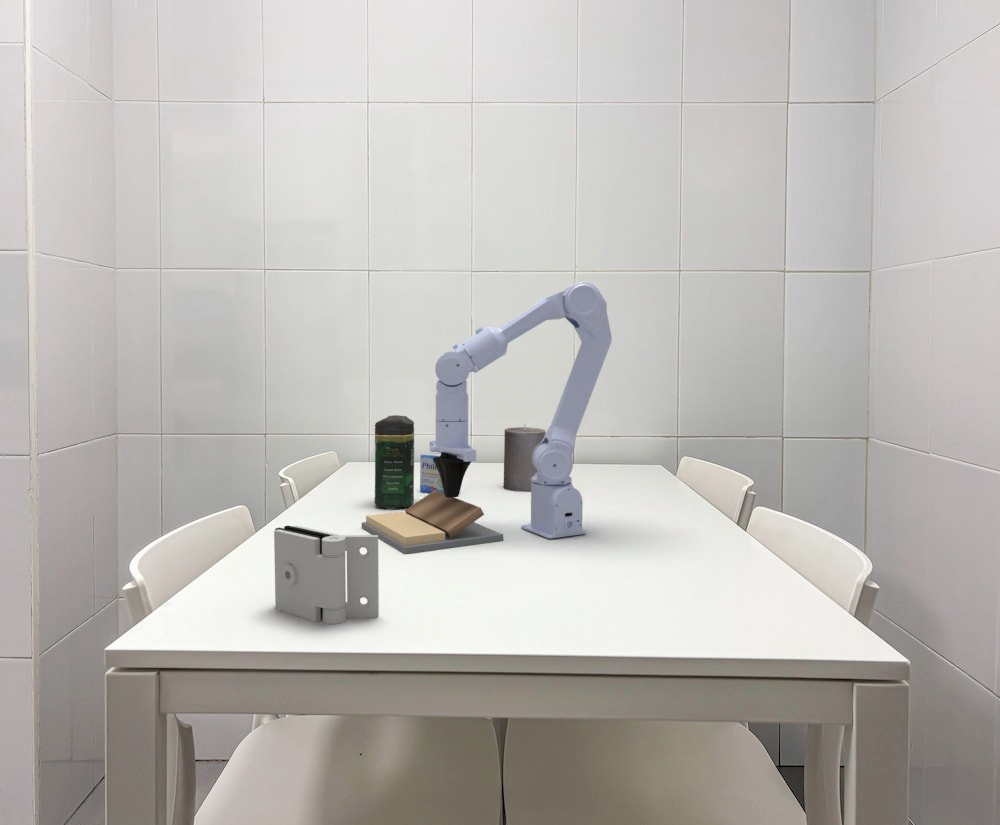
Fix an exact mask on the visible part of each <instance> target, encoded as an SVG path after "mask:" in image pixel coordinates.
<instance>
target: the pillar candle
mask: <svg viewBox="0 0 1000 825" xmlns="http://www.w3.org/2000/svg"><path fill="white" fill-rule="evenodd" d="M546 432H547V430H546V429H543V428H538V427H526V423H524V424H523V427H522V426H520V427H508V428H505V429H504V444H503V445H504V448H503V449H504V451H503V452H504V454H503V458H504V459H503V489H505V490H508V491H512V492H513V491H514V492H527V493H528V492H531V478H532V477H533V476H534V475H535V473H536V472H537V470H536V469H535V468H534V466H533V463H532V453H533V451H534V449H535V448H536V446H537V445H539V444H540V443H541V442H542V440H543V438H544V436H545V433H546Z"/></svg>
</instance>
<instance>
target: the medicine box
mask: <svg viewBox="0 0 1000 825" xmlns="http://www.w3.org/2000/svg"><path fill="white" fill-rule="evenodd" d="M440 455H441V453H437V452H425V453H422V454H421V455H420V456H419V457H420V460H419V461H420V466H419V468H420V470H419V473H420V474H419V477H420V478H419V492H420V493H424V494H430V493H432V492H433V491H435V490H436V491H439V492H441V493H444V490H443V486H442V481H441V478H440V474H439V472H438V469H437V467H436V465H435V463H434V462H433V458H434V457H440Z"/></svg>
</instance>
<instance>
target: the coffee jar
mask: <svg viewBox="0 0 1000 825" xmlns="http://www.w3.org/2000/svg"><path fill="white" fill-rule="evenodd" d="M414 425H415V423H414V420H412V419H410V418H409V417H408V416H407V415H395V414H394V415H388V416H387V417H385V418H382V419H380V420H378V421H376V422H375V424H374V450H375V451H374V504H375V506H376V507H378V508H380V507H381V508H386V509H391V510H396V509H398V508H407V507H408V508H409V507H411V506H412V505H413V504H414V503H413V502H414V499H415V487H414V486H415V485H414V483H415V481H414V480H415V426H414Z"/></svg>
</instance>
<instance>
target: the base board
mask: <svg viewBox="0 0 1000 825" xmlns="http://www.w3.org/2000/svg"><path fill="white" fill-rule="evenodd" d="M361 529H362V530H365V531H366V532H368V534H370V535H378V540H381V541H383V542H384V543H386V544H388V545H389V546H390V547H392V548H395V549H396V550H397V551H399V552H401V553H402V554H404V555H408V554H415V553H423V552H428V551H429V552H430V551H437V550H443V549H451V548H460V547H466V546H473V545H480V544H487V543H494V542H502V541H504V534H503V533H500V532H498V531H495V530H493V529H491V528H489V527H486V526H484V525H481V524H480V523H477V522H476V521H475V522H473V523H472V524H470V525H469V526H468V527H466V528H465V529H463V530H462V531H461V532H459V533H458V534H456V535H455V536H453V537H452V538H450V537H448V536H446V535H445V532H443V531H441V530H439V529H437V528H435V527H433V526H431V525H429V524H427V523H425V522H423V521H421V520H419V519H416V518H414V517H412V516H410V515H408V514H406V512H405V511H397V512H388V513H377V514H376V513H375V514H368V515H367V514H366V515H365V521H362V522H361Z"/></svg>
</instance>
